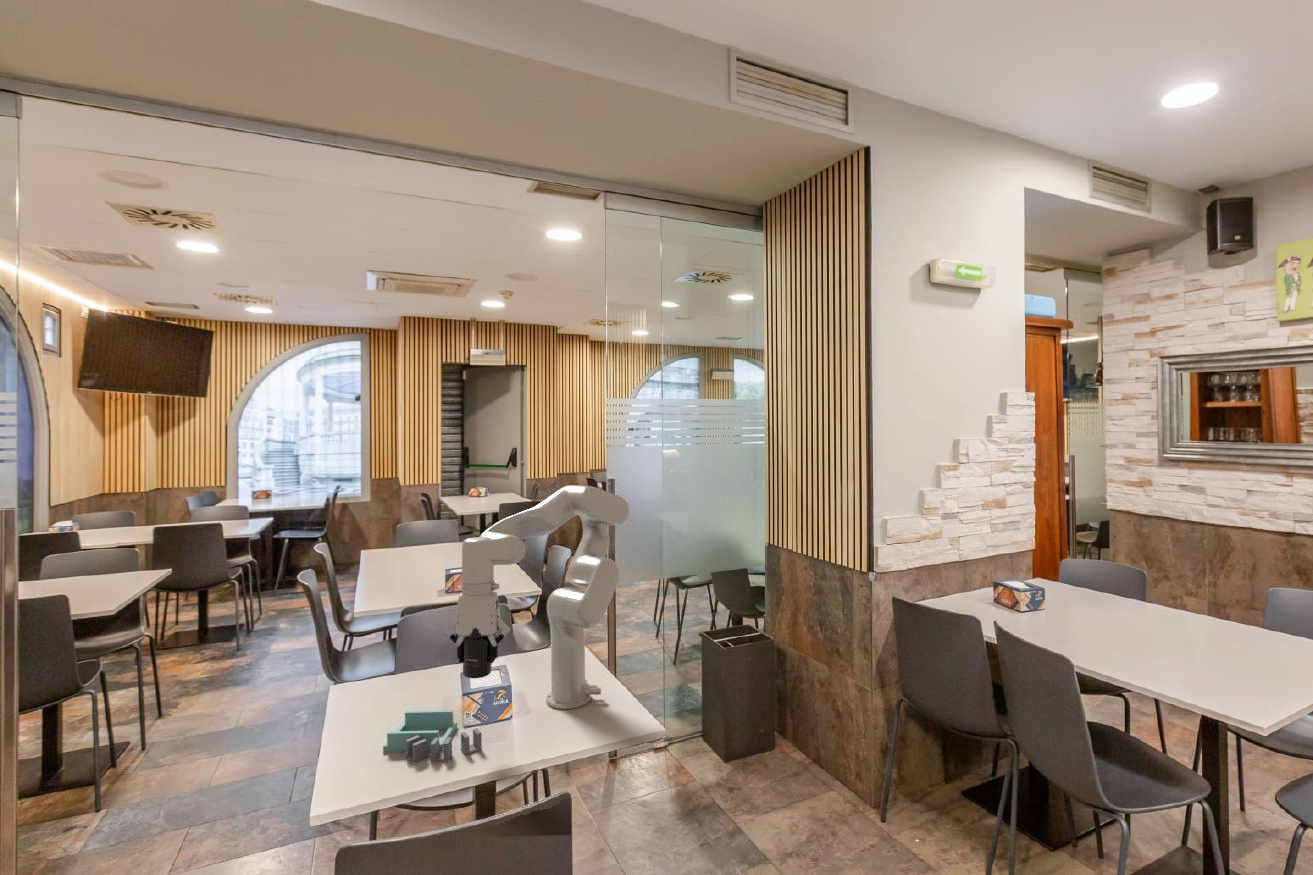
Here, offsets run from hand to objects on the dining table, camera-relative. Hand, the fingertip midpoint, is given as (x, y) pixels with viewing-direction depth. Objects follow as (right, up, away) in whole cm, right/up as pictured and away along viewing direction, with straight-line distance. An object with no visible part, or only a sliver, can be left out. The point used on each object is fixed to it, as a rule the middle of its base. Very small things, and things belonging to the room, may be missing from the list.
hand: (477, 660), depth 152 cm
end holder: (-14, -20, +2) cm, 25 cm away
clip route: (-6, -20, -5) cm, 22 cm away
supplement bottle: (0, -4, 0) cm, 4 cm away
